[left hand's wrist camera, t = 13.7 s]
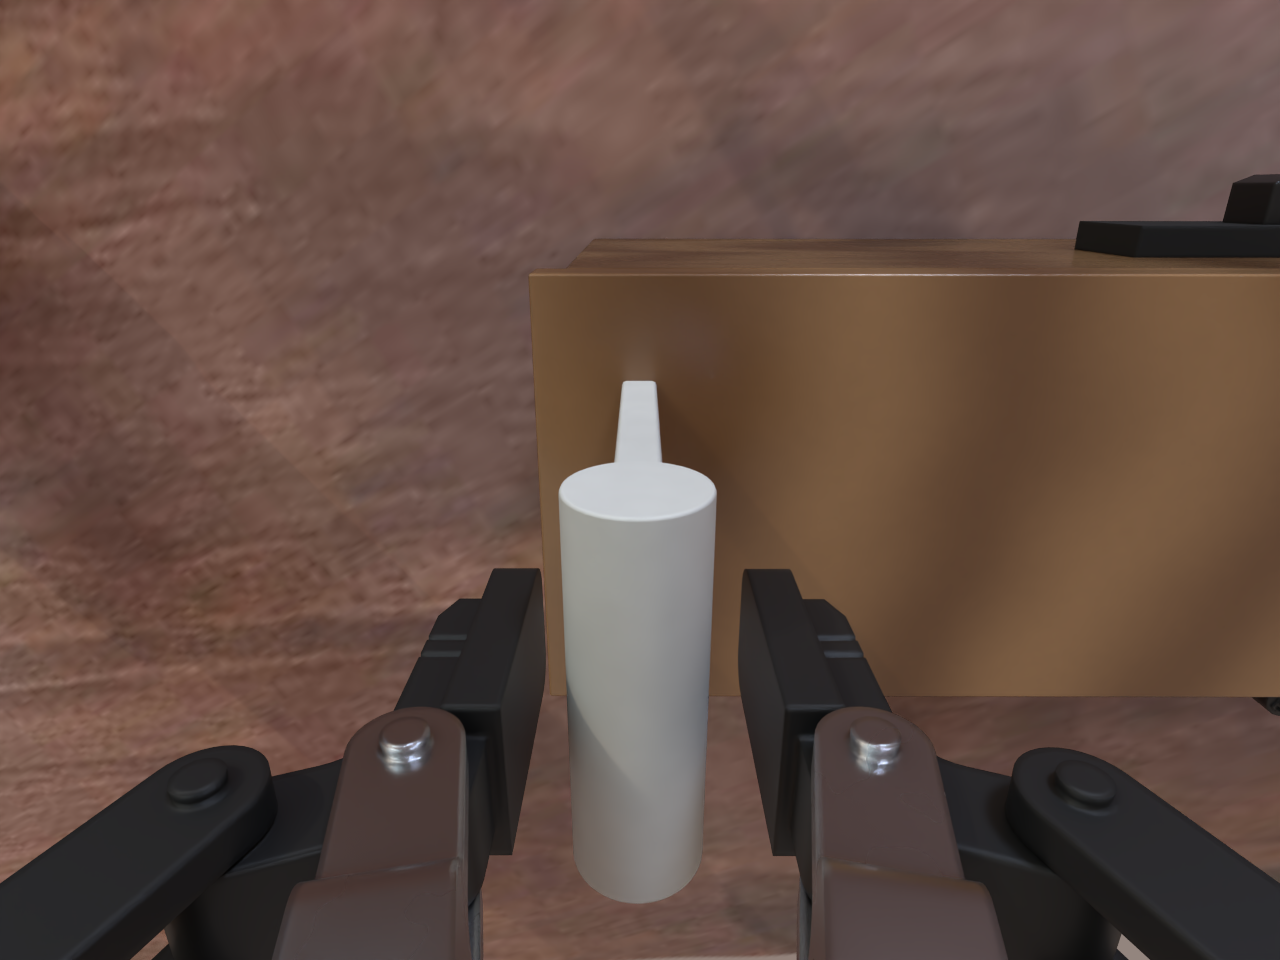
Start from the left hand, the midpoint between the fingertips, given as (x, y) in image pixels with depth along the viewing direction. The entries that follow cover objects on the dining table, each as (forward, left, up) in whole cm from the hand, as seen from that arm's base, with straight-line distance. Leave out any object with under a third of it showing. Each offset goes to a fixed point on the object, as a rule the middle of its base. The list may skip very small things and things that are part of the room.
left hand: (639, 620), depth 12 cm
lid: (+6, -3, -5) cm, 9 cm away
